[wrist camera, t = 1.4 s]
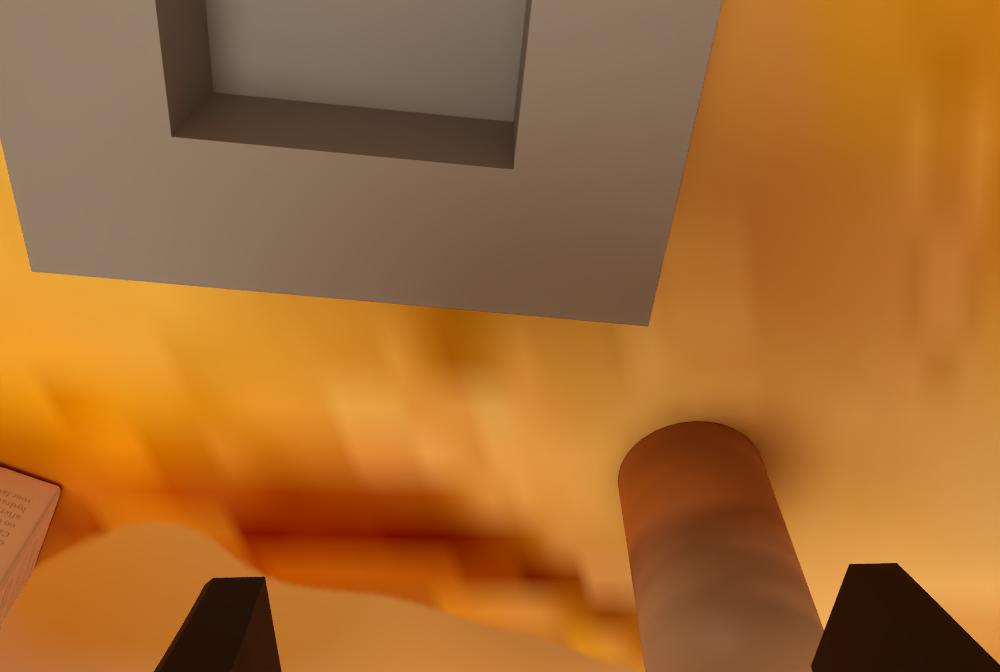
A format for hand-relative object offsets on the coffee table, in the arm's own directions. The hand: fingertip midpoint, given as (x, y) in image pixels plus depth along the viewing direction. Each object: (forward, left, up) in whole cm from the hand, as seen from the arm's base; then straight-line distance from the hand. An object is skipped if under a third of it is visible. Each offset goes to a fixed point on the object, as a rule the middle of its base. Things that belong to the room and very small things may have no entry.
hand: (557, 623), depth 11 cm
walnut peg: (-5, +7, -11) cm, 14 cm away
